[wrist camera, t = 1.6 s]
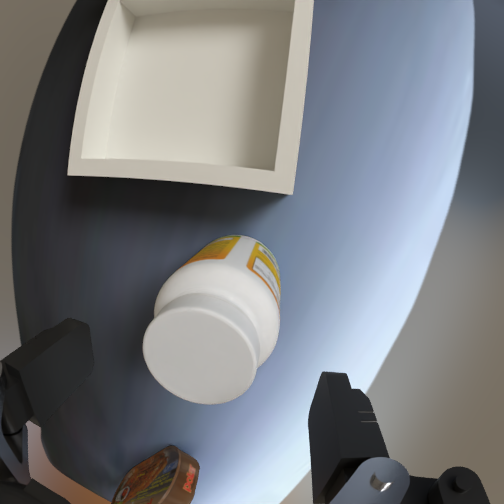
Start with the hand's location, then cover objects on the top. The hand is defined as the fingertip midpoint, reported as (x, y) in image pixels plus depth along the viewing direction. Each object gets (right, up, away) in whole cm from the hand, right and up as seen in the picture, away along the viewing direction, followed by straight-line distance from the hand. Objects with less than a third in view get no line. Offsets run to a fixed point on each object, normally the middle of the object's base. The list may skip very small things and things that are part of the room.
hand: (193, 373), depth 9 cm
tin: (-8, -19, +16) cm, 26 cm away
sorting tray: (-1, +15, +7) cm, 16 cm away
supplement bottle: (+1, +2, +10) cm, 10 cm away
